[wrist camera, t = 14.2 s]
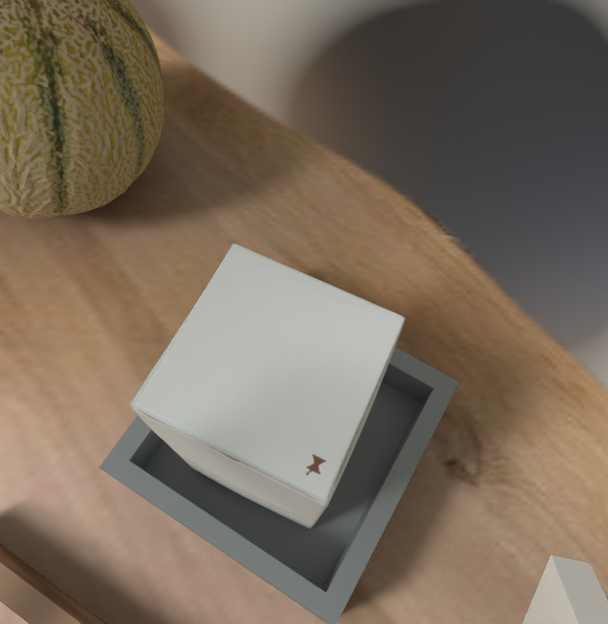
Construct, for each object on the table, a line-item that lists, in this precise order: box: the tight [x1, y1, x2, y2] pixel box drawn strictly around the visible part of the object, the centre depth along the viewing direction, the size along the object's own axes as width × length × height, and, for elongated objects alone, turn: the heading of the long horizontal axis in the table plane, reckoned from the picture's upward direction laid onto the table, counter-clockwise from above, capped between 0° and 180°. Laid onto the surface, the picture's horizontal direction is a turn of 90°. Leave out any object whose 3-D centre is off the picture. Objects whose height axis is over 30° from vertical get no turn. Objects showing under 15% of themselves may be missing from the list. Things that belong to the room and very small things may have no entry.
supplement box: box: [130, 244, 405, 529], centre depth 25 cm, size 7×7×13 cm
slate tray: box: [99, 347, 459, 624], centre depth 30 cm, size 13×13×4 cm
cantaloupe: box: [0, 0, 165, 219], centre depth 31 cm, size 15×15×15 cm
